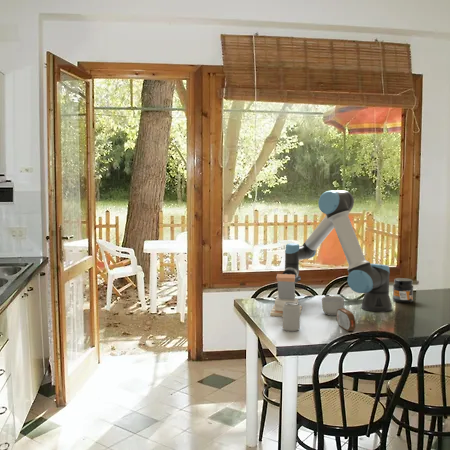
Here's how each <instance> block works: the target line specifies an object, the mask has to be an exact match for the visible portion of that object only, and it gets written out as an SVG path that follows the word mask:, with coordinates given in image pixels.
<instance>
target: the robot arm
mask: <svg viewBox="0 0 450 450" xmlns="http://www.w3.org/2000/svg"><path fill="white" fill-rule="evenodd" d="M354 205H355V198H354V197H353V195H352V193H351V192H349V191H348V190H344V189H342V190H338V189H337V190H334V189H331V190H330V189H329V190H326V191H325V192H323V193H322V194H320V196H319V199H318V209H319V210H320V212H321V213H323V214H325V216H324V218H323V219H322V220H321V221H320V222H319V224H318V225H317V227H316V228H315V229H314V230H313V232H311V234H310V235H309V236H308V237H307V239H306V240H305V241H304V243H302V245H299V243H287V244H285V249H284V254H285V255H284V270H283V272H282V274H292V275H295V282H294V283H295V284H297V283H298V282H301V280H302V279H301V275H299V274H300V269H299V267H300V263H299V262H300V260H308V259H311V258H314V257H315V255H316V253H317V249H319V247H320V245H321V244H322V243H323V242H324V241H325V239H326V238H327V237H328V236H329V235H330V233H331V232H332V231H333V230H335V233H336V236H337V238H338V241H339V243H340V246H341V248H342V252H343V253H344V256H345V258H346V262H347V265H348V268H347V272H348V276H347V280H346V281H347V284H348V287H349V288H350V289H351V290H352V291H353V292H355V293H357V294H364V295H363V298H362V301H361V305H360V306H361V309H362V310H366V311H369V312H375V313H377V312H378V313H379V312H381V313H382V312H391V311H392V309H393V305H392V304H393V303H392V302H391V301H392V300H391V298H390V274H391V272H390V266H389V265H387V264H380V263H371V262H370V261H369V260H367V259H366V258H365V254H364V253H363V250H362V248H361V245H360V243H359V239H358V238H357V235H356V231H355V229H354V227H353V225H352V222H351V219H350V217H349V215H350V213H351V211H352V210H353V208H354ZM275 278H276V279H275V280H276V281H277V274H276V277H275Z"/></svg>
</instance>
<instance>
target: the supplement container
mask: <svg viewBox="0 0 450 450" xmlns="http://www.w3.org/2000/svg"><path fill="white" fill-rule="evenodd" d="M393 282H394V283H393V285H392V287H393V288H392V300H393V301H394V302H395V301H396V303H399V302H402V303H401V304H409V302H410V303H412V302H413V300H414V299H413V298H414V285H413V282H414V281H413V279H412V278H407V277H404V278H403V277H397V278H396V277H395V278H394V281H393Z"/></svg>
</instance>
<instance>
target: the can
mask: <svg viewBox="0 0 450 450" xmlns="http://www.w3.org/2000/svg"><path fill="white" fill-rule="evenodd" d="M284 304H285V305H284V306H283V317H282V329H283V330H284V331H285V332H290V333H291V332H292V333H293V332H298V330H300V326H301V325H300V323H301V322H300V321H301V314H300V306H301V305H299V302H298V303H296V302H286V303H284Z"/></svg>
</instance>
